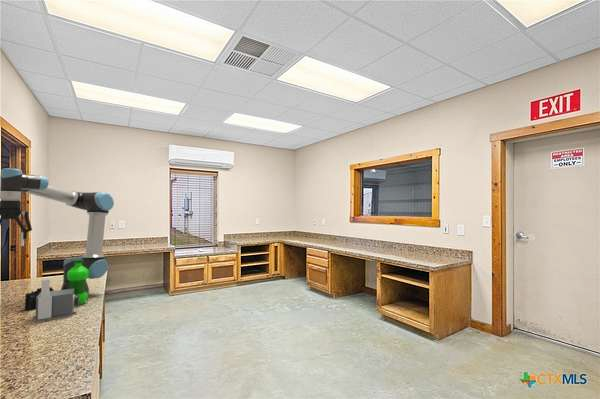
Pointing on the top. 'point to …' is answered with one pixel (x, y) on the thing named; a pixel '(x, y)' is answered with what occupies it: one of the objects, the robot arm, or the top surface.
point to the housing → (60, 304)
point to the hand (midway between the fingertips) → (8, 246)
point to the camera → (32, 299)
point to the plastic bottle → (78, 280)
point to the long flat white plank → (45, 301)
